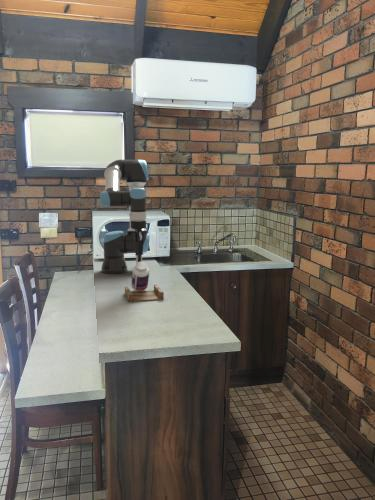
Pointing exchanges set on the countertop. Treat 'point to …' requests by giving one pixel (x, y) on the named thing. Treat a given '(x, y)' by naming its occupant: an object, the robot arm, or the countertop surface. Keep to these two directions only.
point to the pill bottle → (140, 276)
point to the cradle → (144, 295)
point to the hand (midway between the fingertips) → (139, 267)
